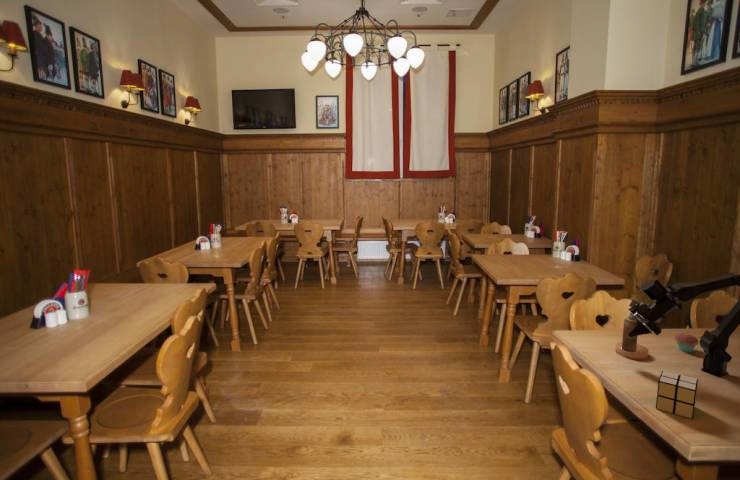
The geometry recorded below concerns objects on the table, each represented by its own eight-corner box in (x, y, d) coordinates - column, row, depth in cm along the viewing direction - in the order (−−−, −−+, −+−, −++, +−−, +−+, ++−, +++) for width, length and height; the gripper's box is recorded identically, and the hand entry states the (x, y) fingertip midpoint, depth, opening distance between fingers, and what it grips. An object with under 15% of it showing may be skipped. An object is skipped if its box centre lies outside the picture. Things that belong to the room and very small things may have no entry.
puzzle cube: (659, 396, 152) (662, 370, 150) (694, 406, 145) (698, 378, 144) (655, 409, 144) (658, 380, 142) (692, 419, 138) (696, 390, 136)
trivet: (654, 357, 184) (655, 350, 183) (635, 362, 179) (635, 355, 179) (627, 346, 195) (628, 340, 194) (608, 351, 190) (609, 344, 190)
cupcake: (697, 355, 184) (700, 328, 183) (672, 350, 190) (675, 324, 188) (697, 348, 191) (700, 322, 189) (674, 344, 196) (676, 318, 194)
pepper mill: (639, 351, 172) (642, 316, 170) (626, 352, 172) (629, 317, 170) (631, 346, 177) (633, 312, 175) (619, 347, 177) (621, 313, 175)
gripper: (635, 287, 179) (604, 311, 183) (654, 300, 161) (619, 327, 165) (655, 306, 179) (623, 330, 183) (676, 322, 161) (641, 348, 165)
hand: (626, 333), depth 174 cm, fingers closed on pepper mill, 5 cm apart
